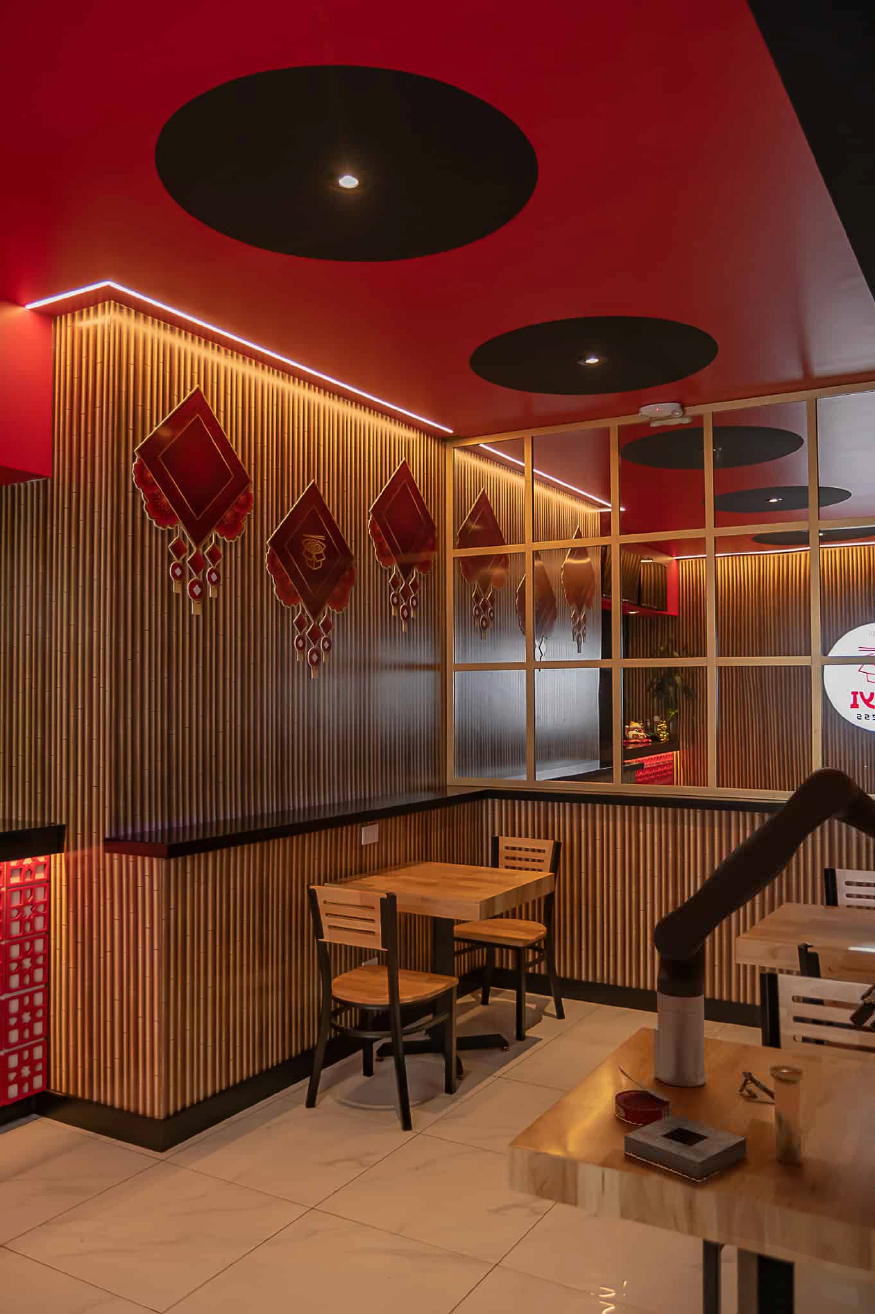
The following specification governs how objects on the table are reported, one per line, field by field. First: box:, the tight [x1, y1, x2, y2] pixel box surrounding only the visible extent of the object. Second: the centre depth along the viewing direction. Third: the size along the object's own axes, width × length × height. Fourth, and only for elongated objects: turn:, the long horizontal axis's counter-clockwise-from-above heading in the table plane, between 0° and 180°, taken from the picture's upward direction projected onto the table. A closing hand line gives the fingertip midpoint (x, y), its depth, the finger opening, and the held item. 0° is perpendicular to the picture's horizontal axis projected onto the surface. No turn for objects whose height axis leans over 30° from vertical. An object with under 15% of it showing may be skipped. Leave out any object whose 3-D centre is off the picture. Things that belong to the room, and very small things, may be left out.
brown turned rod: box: [738, 1070, 774, 1101], centre depth 184 cm, size 2×8×4 cm, turn 47°
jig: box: [623, 1113, 747, 1181], centre depth 157 cm, size 14×14×3 cm
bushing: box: [769, 1064, 804, 1165], centre depth 156 cm, size 5×5×14 cm
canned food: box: [614, 1066, 671, 1125], centre depth 174 cm, size 11×10×10 cm
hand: (864, 1027), depth 163 cm, fingers open, 8 cm apart
